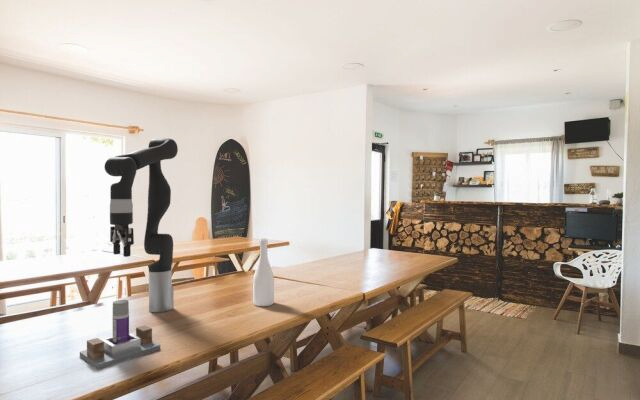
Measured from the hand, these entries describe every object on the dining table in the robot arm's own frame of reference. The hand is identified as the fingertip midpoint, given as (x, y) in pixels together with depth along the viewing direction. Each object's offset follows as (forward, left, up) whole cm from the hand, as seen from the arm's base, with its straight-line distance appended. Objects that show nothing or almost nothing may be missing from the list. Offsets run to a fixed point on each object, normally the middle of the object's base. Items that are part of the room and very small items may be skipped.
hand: (121, 255), depth 143 cm
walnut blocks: (+9, +20, -27) cm, 34 cm away
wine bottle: (-57, +14, -28) cm, 65 cm away
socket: (+9, +20, -27) cm, 34 cm away
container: (+9, +20, -27) cm, 35 cm away
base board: (+9, +20, -28) cm, 36 cm away
